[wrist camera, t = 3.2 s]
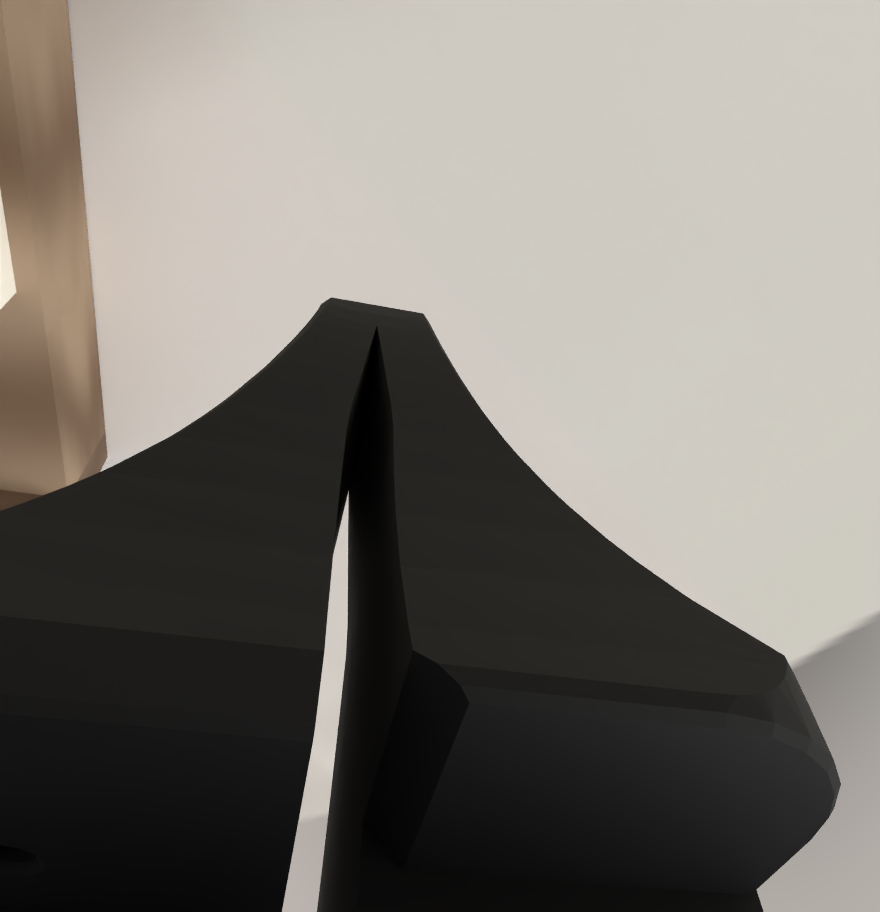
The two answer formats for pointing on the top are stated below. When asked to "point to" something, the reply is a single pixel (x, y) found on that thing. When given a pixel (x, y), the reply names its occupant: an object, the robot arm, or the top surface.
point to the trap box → (45, 265)
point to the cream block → (5, 263)
